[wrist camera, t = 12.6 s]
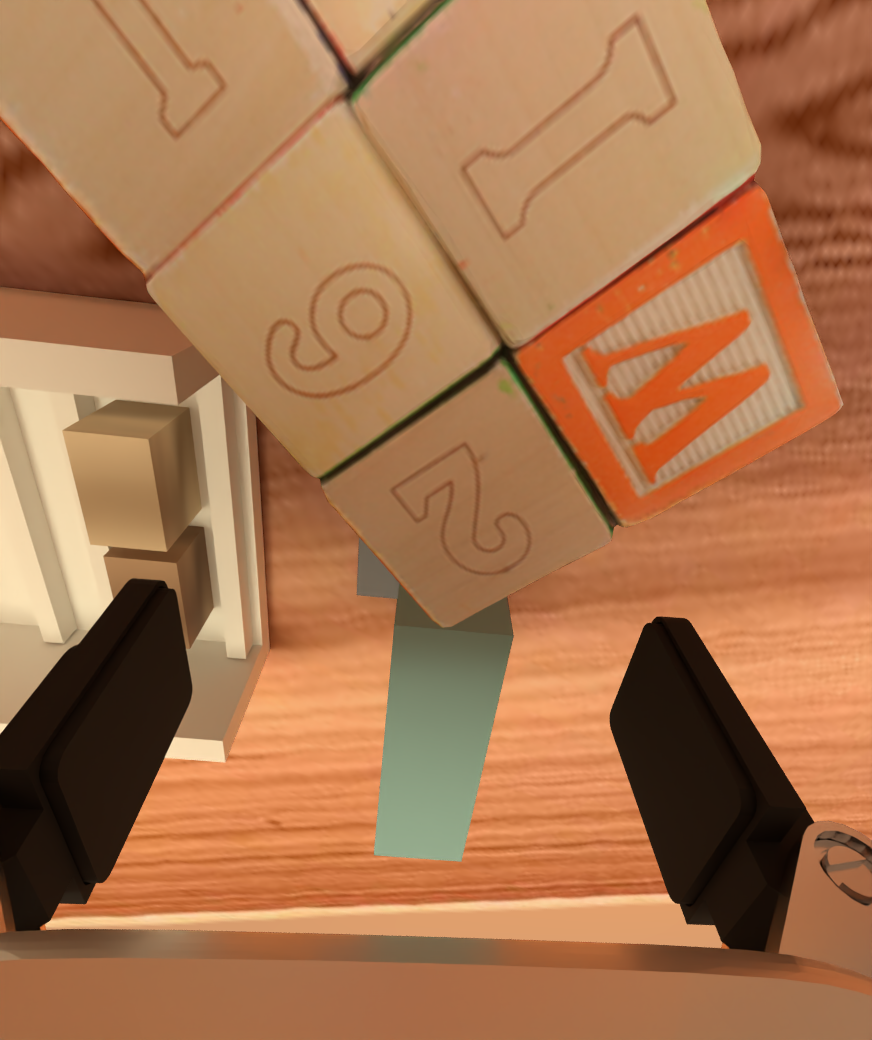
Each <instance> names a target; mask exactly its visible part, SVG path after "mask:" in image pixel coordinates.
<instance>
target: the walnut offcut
mask: <svg viewBox="0 0 872 1040" xmlns="http://www.w3.org/2000/svg"><path fill="white" fill-rule="evenodd" d="M103 558H104V562H105V566H106V570H107V575H108V579H109V583H110V587H111V591H112V596H113V599H114V598H115V597H116V595H117V594H118V593H119V592H120V590H121V589H122V588H123V586H124V585H125V584H126V583H127V582H128V581H129V580H130V579H132V578H137V579H151V580H162V581H165V582H166V584H167V587H168V588H170V589H174V590H175V591H176V594H177V599H178V605H179V611H180V617H181V622H182V628H183V634H184V640H185V645H186V649H190V648H191V646H192V645H193V643H194V641H195V639H196V638H197V636H198V634H199V633H200V631H201V629H202V627H203V626H204V624H205V622H206V620H207V619H208V617H209V615H210V614H211V612H212V610H213V608H214V605H213V597H212V589H211V580H210V572H209V564H208V556H207V548H206V540H205V531H204V527H200V526H189V525H188V526H187V528H186V529H185V530H184V531H183V533H182V534H181V535H180V536H179V538H178V539H177V540H176V541H175V542H174V544H173V545H172V546H171V547H170V549H169V550H168V551H167V552H164V551H153V550H142V549H132V548H121V547H112V548H111V549H110V550H109V551H108V552H107V553H106V554H105V555H104V556H103Z"/></svg>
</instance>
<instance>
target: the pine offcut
mask: <svg viewBox="0 0 872 1040" xmlns="http://www.w3.org/2000/svg"><path fill="white" fill-rule="evenodd" d="M62 432H63V436H64V440H65V444H66V448H67V452H68V456H69V461H70V465H71V469H72V473H73V477H74V481H75V485H76V489H77V493H78V497H79V501H80V505H81V509H82V513H83V517H84V521H85V525H86V529H87V533H88V537H89V542H90V545H100V546H110V547H121V548H132V549H142V550H153V551H164V552H167V551H168V550H169V549H170V547H171V546H172V545H173V544H174V542H175V541H176V540H177V539H178V538H179V536H180V535H181V534H182V533H183V531H184V530H185V529H186V528H187V526H188V525H189V524H190V523H191V522H192V520H193V519H194V518H195V517H196V515H197V514H198V513H199V512H200V510H201V509H202V507H201V499H200V490H199V482H198V474H197V466H196V458H195V450H194V441H193V433H192V425H191V417H190V409H189V407H180V406H171V405H161V404H152V403H142V402H132V401H123V400H114V401H112V402H111V403H109V404H107V405H105V406H104V407H102V408H100V409H98V410H97V411H95V412H93V413H91V414H90V415H88V416H86V417H85V418H83V419H81V420H79V421H78V422H76V423H74V424H72V425H71V426H69V427H67V428H65V429H64V430H62Z"/></svg>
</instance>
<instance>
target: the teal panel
mask: <svg viewBox="0 0 872 1040" xmlns="http://www.w3.org/2000/svg"><path fill="white" fill-rule="evenodd" d="M513 636H514V635H513V629H512V623H511V617H510V611H509V605H508V599H507V597H505V598H503V599H501V600H499V601H497V602H496V603H494V604H492V605H490V606H488V607H486V608H484V609H483V610H481V611H479V612H477V613H475V614H473V615H472V616H470V617H468V618H466V619H464V620H463V621H461V622H459V623H457V624H455V625H454V626H452V627H444V628H442V627H441V626H439V625H438V624H437V623H435V622H434V621H433V620H431V618H430V617H429V616H428V615H427V614H426V613H425V612H424V610H423V609H422V608H421V607H420V606H419V605H418V604H417V603H416V601H415V600H414V599H413V598H412V597H411V596H410V595H409V593H408V592H407V591H406V590H405V589H404V588H403V587H402V585H401V584H400V583H399V590H398V598H397V607H396V615H395V624H394V634H393V646H392V657H391V668H390V679H389V691H388V702H387V713H386V724H385V736H384V747H383V758H382V769H381V781H380V792H379V803H378V814H377V826H376V837H375V848H374V855H378V856H392V857H406V858H420V859H434V860H448V861H461V860H462V856H463V852H464V847H465V843H466V839H467V834H468V830H469V826H470V821H471V817H472V813H473V809H474V804H475V800H476V796H477V791H478V787H479V783H480V778H481V774H482V770H483V765H484V761H485V757H486V753H487V748H488V744H489V740H490V735H491V731H492V727H493V722H494V718H495V714H496V709H497V705H498V701H499V697H500V692H501V688H502V684H503V679H504V675H505V671H506V666H507V662H508V658H509V653H510V649H511V645H512V641H513Z"/></svg>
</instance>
